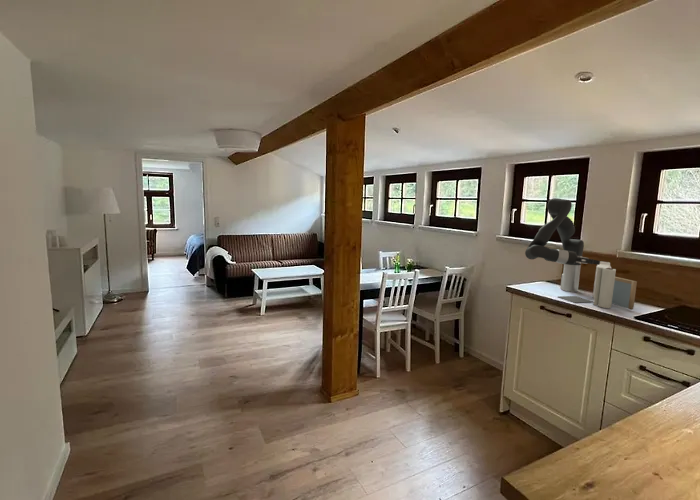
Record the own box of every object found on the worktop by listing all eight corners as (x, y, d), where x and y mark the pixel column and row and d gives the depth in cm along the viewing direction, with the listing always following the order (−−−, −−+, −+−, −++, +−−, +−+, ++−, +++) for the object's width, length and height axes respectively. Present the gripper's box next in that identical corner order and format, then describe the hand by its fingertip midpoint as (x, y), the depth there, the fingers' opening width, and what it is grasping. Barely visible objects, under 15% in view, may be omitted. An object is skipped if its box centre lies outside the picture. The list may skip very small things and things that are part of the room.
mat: (557, 297, 224) (557, 296, 224) (575, 296, 227) (575, 295, 227) (575, 303, 211) (575, 302, 211) (593, 302, 214) (594, 301, 214)
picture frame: (601, 300, 214) (604, 275, 212) (604, 300, 215) (607, 275, 213) (630, 309, 197) (634, 281, 195) (634, 309, 198) (638, 281, 196)
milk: (603, 299, 222) (608, 263, 218) (592, 297, 226) (596, 261, 223) (607, 298, 225) (612, 262, 222) (596, 296, 230) (600, 260, 227)
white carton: (613, 308, 203) (618, 269, 200) (606, 309, 201) (610, 269, 198) (601, 304, 210) (605, 267, 207) (593, 305, 208) (597, 267, 205)
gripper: (572, 251, 199) (604, 256, 197) (559, 249, 213) (589, 254, 212) (569, 265, 199) (601, 270, 198) (557, 262, 213) (586, 267, 212)
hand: (594, 262), depth 205 cm, fingers open, 8 cm apart
